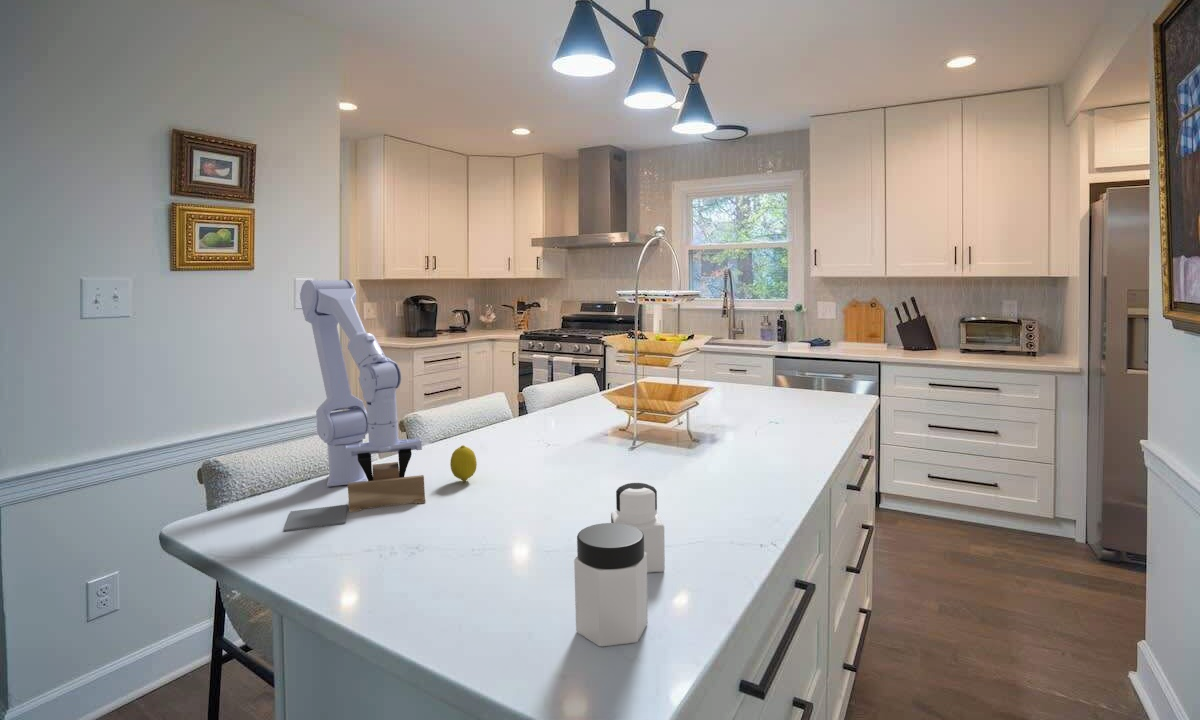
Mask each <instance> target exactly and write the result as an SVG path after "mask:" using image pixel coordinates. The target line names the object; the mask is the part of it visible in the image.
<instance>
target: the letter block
mask: <svg viewBox="0 0 1200 720" xmlns="http://www.w3.org/2000/svg"><path fill="white" fill-rule="evenodd" d="M372 475H373V481H374V480H383V479H392V478H399V461H394V462H385V463H377V464H376V463H374V464H372Z"/></svg>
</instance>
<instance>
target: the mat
mask: <svg viewBox="0 0 1200 720" xmlns="http://www.w3.org/2000/svg"><path fill="white" fill-rule="evenodd" d="M347 510H348V504H347V503H346V504H340V505H331V506H324V507H315V508H314V507H313V508H307V509H299V510H298V509H297V510H291V511H289V514H288V518H287V521H286V523H285V526H284V529H283V532H290V530H291V531H297V530H296V529H299V530H305V529H304V528H306V529H314V528H319V526H322V527H327V526H326V525H329V526H336V525H335V524H337V525H344V524H346V520H347V512H348V511H347ZM313 527H314V528H313Z"/></svg>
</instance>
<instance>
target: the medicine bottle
mask: <svg viewBox="0 0 1200 720" xmlns="http://www.w3.org/2000/svg"><path fill="white" fill-rule="evenodd" d="M657 493H658V492H657V489H656V488H655V487H654V486H652V485H650V484H647V483H642V482H629V483H625V484H623V485H621V486H619V487H618V488H617V489H616V492H615V494H616V495H615V496H616V497H615V498H616V502H615V503H616V505H615V506H616V511H615V510H613V511H611V512H610V523H621V524H627V525H631V526H634V527H636V528H638V529H639V530H641V531H642V532H643V534H644V551H645V552H646V553H647V574H648V573H663V572H665V569H666V566H665V557H666V556H665V553H666V552H665V526H664V523H663V521H662V519H661V517H660V515H659V512H658V496H657V495H658V494H657Z"/></svg>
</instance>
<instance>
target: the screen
mask: <svg viewBox="0 0 1200 720" xmlns="http://www.w3.org/2000/svg"><path fill="white" fill-rule="evenodd" d="M425 492H426V489H425V476H424V474H419V475H413V476H410V475H409V476H404V477H401V478H392V479H383V480H374V481H368V480H367V481H365V482H357V483H348V485H347V496H348V510H349V512H348V513H353V512H361V510H365V509H373V508H374V507H375V508H381V507H382V506H383V507H391V506H399V505H405V504H412V503H414V502H415V503H414V504H415V505H417V503H419V504H424V502H426V495H425Z"/></svg>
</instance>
